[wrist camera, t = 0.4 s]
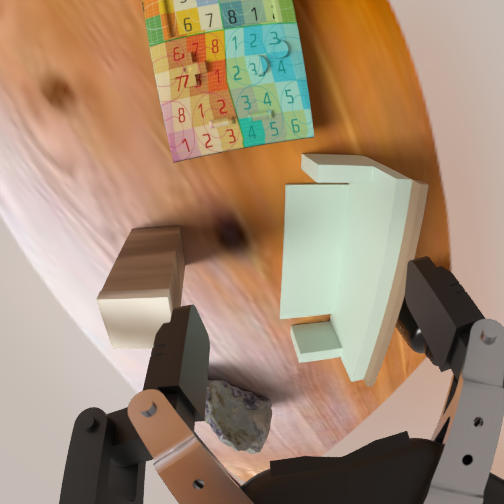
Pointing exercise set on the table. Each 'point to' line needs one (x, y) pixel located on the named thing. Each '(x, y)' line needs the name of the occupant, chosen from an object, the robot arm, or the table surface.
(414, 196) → the mint green shelf
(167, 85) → the puzzle game
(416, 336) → the supplement bottle
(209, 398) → the mineral rock
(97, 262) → the table surface
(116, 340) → the brown wooden block
